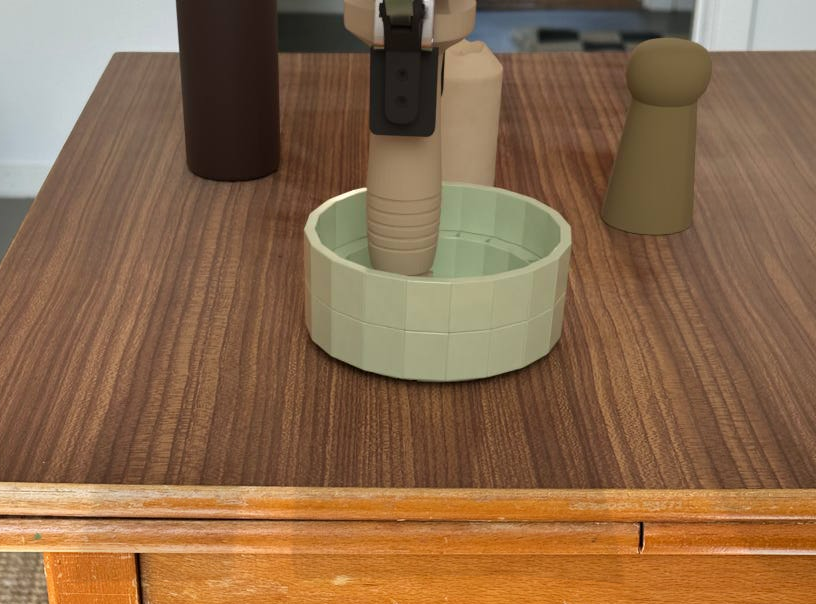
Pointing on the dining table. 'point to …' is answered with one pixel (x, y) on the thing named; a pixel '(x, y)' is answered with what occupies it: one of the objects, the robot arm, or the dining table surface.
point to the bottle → (230, 87)
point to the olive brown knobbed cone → (658, 139)
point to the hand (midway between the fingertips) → (407, 111)
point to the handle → (407, 160)
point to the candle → (470, 113)
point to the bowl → (441, 288)
